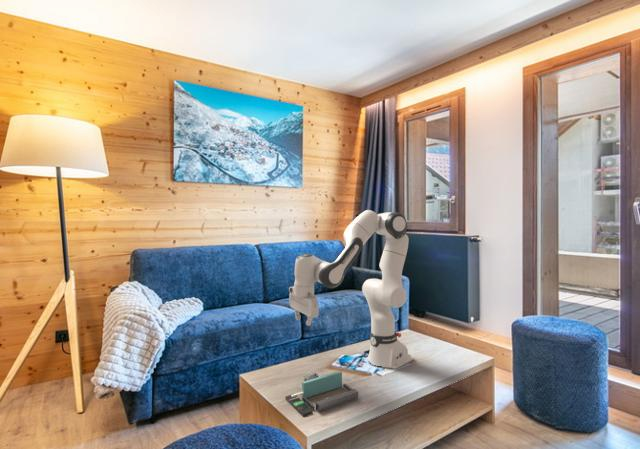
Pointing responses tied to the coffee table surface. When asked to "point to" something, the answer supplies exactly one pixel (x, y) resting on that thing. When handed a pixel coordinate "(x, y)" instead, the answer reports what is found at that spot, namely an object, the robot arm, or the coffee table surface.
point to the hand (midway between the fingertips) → (303, 322)
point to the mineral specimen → (310, 375)
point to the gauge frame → (322, 402)
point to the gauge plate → (320, 384)
